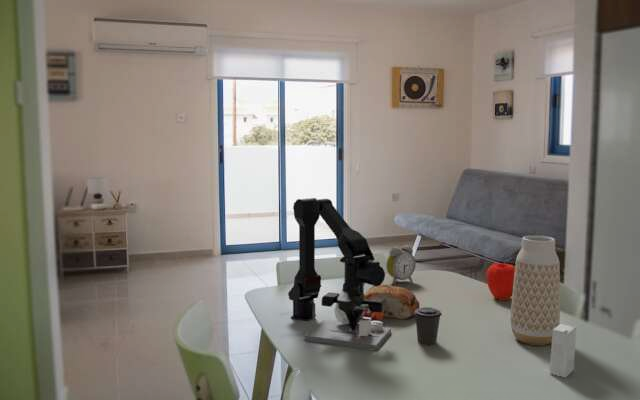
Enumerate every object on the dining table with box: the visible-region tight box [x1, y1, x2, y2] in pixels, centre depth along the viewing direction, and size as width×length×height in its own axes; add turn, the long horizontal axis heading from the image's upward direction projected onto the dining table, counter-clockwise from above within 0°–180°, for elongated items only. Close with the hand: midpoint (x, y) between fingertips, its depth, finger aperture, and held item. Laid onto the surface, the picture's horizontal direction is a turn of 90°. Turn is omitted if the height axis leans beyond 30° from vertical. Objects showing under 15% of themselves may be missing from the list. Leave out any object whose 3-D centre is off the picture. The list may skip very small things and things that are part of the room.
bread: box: [364, 284, 420, 320], centre depth 210 cm, size 20×18×10 cm
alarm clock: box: [386, 244, 416, 285], centre depth 248 cm, size 12×7×15 cm, turn 123°
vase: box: [510, 235, 561, 346], centre depth 181 cm, size 14×14×31 cm
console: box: [304, 319, 392, 351], centre depth 185 cm, size 22×16×4 cm
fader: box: [358, 317, 371, 336], centre depth 182 cm, size 2×4×5 cm, turn 158°
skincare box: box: [549, 323, 577, 379], centre depth 158 cm, size 6×4×12 cm
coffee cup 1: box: [334, 303, 384, 324], centre depth 195 cm, size 8×8×15 cm
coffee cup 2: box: [414, 307, 442, 347], centre depth 180 cm, size 8×8×10 cm
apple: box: [486, 262, 515, 301], centre depth 224 cm, size 12×12×13 cm
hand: (353, 330), depth 183 cm, fingers closed
